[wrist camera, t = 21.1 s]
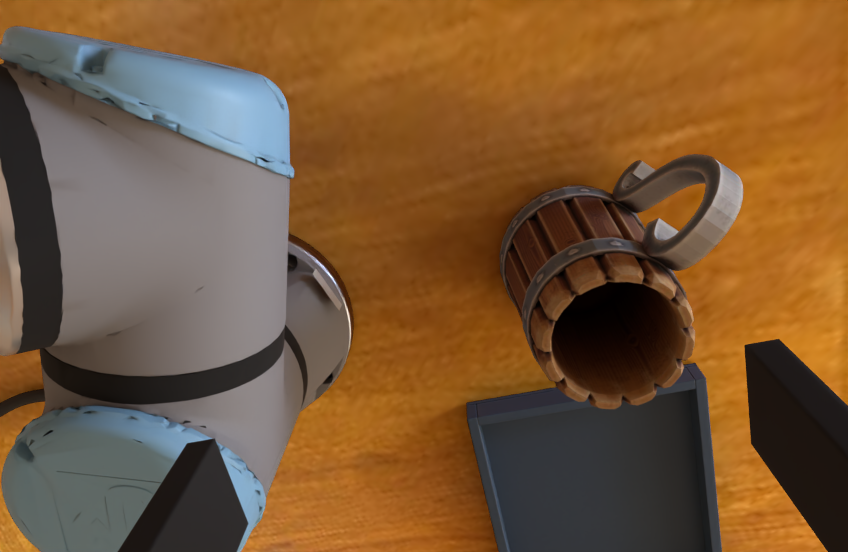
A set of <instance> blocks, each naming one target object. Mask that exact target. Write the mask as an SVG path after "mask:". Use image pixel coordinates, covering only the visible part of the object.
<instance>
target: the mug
mask: <svg viewBox="0 0 848 552" xmlns="http://www.w3.org/2000/svg"><path fill="white" fill-rule="evenodd" d="M699 183H706V189H705V194H704V198H703V201H702V203H701V205H700V207H699V209H698V210H697V212H696V213H695V215H694V216H693V217H692V218H691V220H690V221H689V222H688V223H687V224H686V225H685V226H684V227H683V228H682V229H681V231H677V230H676V229H674V228H673V227H671V226H670V225H668V224H667V223H665V222H664V221H662V220H661V219H659V218H658V219H656V220H654V221H652V222H650V223H648V224H647V227H646V229H645V228H644V226H643V224H642V223H641V221H640V219H639V218H638V216H637V215H636V213H638V212H642V211H644V210H647V209H648V208H650V207H652V206H654V205H655V204H657V203H659V202H660V201H662V200H663V199H665V198H667V197H668V196H670V195H672V194H674V193H675V192H677V191H679V190H681V189H683V188H686V187H688V186H691V185H694V184H699ZM742 199H743V185H742V182H741V179H740V178H739V176H738V175H737V174H735V173H734V172H733V171H731V170H730V169H728V168H727V167H725V166H724V165H723V164H721V163H720V162H718V161H717V160H715V159H714V158H713V157H711V156H707V155H697V154H694V155H686V156H683V157H680V158H678V159H675V160H673V161H671V162H669V163H667V164H666V165H664V166H662V167H661V168H659V169H657V170H654V169H653V168H651V167H650V166H648V165H647V164H645V163H644V162H642V161H641V160H639V161H636V162H634V163H633V164H631V165H630V166H629V167H628V168H627V169H626V170H625V171H624V173H623V174H622V175H621V177H620V178H619V180H618V182H617V183H616V185H615V187H614V190H613V194H610V193H608V192H606V191H604V190H602V189H596V188H594V187H590V186H583V185H571V186H566V187H564V188H560V189H556V188H554V189H551V190H549V191H546V192H544V193H541V194H540V195H538V196H536V197H535V198H533V199H531V202H530V203H529V204H527V205H526V206H525V207H522V208H521V209H520V210H519V211H518V212H517V214H516V215H515V216H514V217H513V219H512V220H511V222H510V224H509V225H508V227H507V231H506V233H505V235H504V237H503V240H502V246H501V251H500V273H501V276H502V278H503V281H504V284H505V287H506V290H507V292H508V295H509V297H510V299H511V300H512V302H513V303H514V305H515V306H516V307H517V310H518V312H519V315H520V317H521V319H522V322H523V329H524V332H525V335H526V338H527V341H528V344H529V346H530V349H531V351H532V353H533V356H534V358H535V359H536V361H537V362H538V364H539V365H540V366H541V368H542V370H543V372H544V373H545V374H546V376H547V377H548V378H549V380H551V381H555V383H556V386H557V388H558V389H559V390H560V391H561V392H563V393H564V394H565V395H566V396H567V397H569V398H571V399H573V400H575V401H577V402H584V401H586V400H587V398H588V400H589V402H590V404H591V405H592V406H595V407H598V408H601V409H616V408H618V407H619V406H621V404H622V402H623V400H624V401H625V402H627V403H628V404H630V405H640V404H643V403H646V402H648V401H650V400H652V399H653V397H654V396H655V395H656V391H657V387H661V388H667V387H671V386H672V385H673V384H674V383H675V382H676V381H677V380H678V379H679V377H680V376H681V374H682V372H683V369H684V365H683V363H682V361H681V360H687V359H688V358H689V357H690V356H691V355H692V351H693V348H694V343H695V330H694V329H693V327H692V325H691V324H692V322H693V321H694V317H693V313H692V309H691V306H690V305H689V303H688V301H687V296H686V292H685V291H684V289H683V287H682V286H681V284H680V283H679V281H678V279H677V278H676V276H675V274H674V273H673V271H672V270H675V271H679V270H683V269H686V268H688V267H690V266H692V265H694V264H696V263H697V262H698V261H700V260H701V259H702V258H704V257H705V256H706V255H707V254H708V253H709V252H710V251H711V250H712V249H713V248H714V247H715V246H716V245H717V244H718V243H719V242H720V241H721V239H722V238H723V237H724V236H725V235H726V233H727V232H728V230H729V229H730V227H731V226H732V224H733V223H734V221H735V219H736V217H737V215H738V212H739V210H740V207H741V203H742Z"/></svg>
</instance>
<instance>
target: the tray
mask: <svg viewBox="0 0 848 552" xmlns="http://www.w3.org/2000/svg"><path fill="white" fill-rule="evenodd" d="M467 421H468V425H469V429H470V434H471V438H472V442H473V446H474V450H475V455H476V459H477V463H478V467H479V471H480V476H481V480H482V484H483V488H484V492H485V496H486V501H487V505H488V509H489V513H490V517H491V522H492V526H493V530H494V534H495V538H496V543H497V547H498V551H499V552H722V547H721V536H720V526H719V515H718V504H717V493H716V482H715V471H714V461H713V450H712V439H711V428H710V417H709V406H708V396H707V385H706V378H705V376H704V375H703V374H702V372H701V371H700V369H699V368H698V367H697V365H696V364H695V363H693V364H687V365H684V369H683V372H682V374H681V376H680V377H679V379H678V380H677V381H676V382H675V383H674V384H673V385H672V386H671V387H667V388H661V387H657V391H656V395H655V396H654V397H653V399H652V400H650V401H648V402H646V403H643V404H640V405H630V404H628V403H627V402H625V401H624V400H623V402H622V404H621V406H619V407H618V408H616V409H601V408H598V407H595V406H592V405H591V404H590V402H589V400H588V398H587V400H586V401H584V402H577V401H575V400H573V399H571V398H569V397H567V396H566V395H565V394H564V393H563V392H561V391H560V390H559V389H558V388H557V387H555V388H549V389H544V390H538V391H532V392H526V393H521V394H515V395H509V396H504V397H498V398H492V399H486V400H481V401H475V402H469V403H467Z"/></svg>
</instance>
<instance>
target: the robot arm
mask: <svg viewBox="0 0 848 552" xmlns="http://www.w3.org/2000/svg"><path fill="white" fill-rule="evenodd" d="M0 58H1V59H3V60H4V63H3V64H0V355H2V356H8V355H13V354H18V353H23V352H27V351H32V350H37V349H40V356H41V365H42V374H43V383H44V389H40V390H33V391H29V392H25V393H22V394H19V395H16V396H14V397H11V398H9V399H7V400H5V401H3V402H1V403H0V417H1V416H3V415H4V414H6V413H8V412H9V411H11V410H13V409H15V408H18V407H20V406H23V405H26V404H30V403H35V402H42V401H45V408H44V411H43V414H42V416H40V417H39V418H37V419H33V420H32V422H30V423H29V424H27V425H26V426H25V427H24V428H23V430H22V431H21V433H20V434H19V435H18V436H17V438H16V440H15V445H14V446H13V447H12V449H11V450H10V452H9V454H8V456H7V458H6V461H5V463H4V467H3V472H2V491H3V497H4V500H5V504H6V506H7V509H8V511H9V513H10V515H11V517H12V519H13V521H14V522H15V524H16V525H17V527H18V528H19V530H20V531H21V532H22V533H23V534H24V536H25V537H26V538H27V539H28V540H29V541H30V542H31V543H32V544H33V545H34V546H35V547H36V548H38V549H39V550H40V551H41V552H241V550H242V549H243V547H244V545H245V543H246V541H247V539H248V537H249V535H250V533H251V532H252V530H253V528H254V527H256V525H257V523H258V522H259V521H260V520H261V518H262V515H263V511H264V510H265V506H266V497H267V494H268V492H269V489H270V487H271V484H272V481H273V479H274V476H275V474H276V471H277V469H278V466H279V464H280V461H281V459H282V456H283V453H284V451H285V448H286V446H287V443H288V441H289V438H290V436H291V433H292V430H293V428H294V425H295V423H296V420H297V418H298V415H299V413H300V411H302V410H303V409H304V408H306V407H307V406H308V405H310V404H311V403H312V402H314V401H315V400H316V399H317V398H319V397H320V396H321V395H322V394H323V393H324V392H325V391H327V390H328V388H329V387H330V386H331V385H332V384H333V383H334V382H335V380H336V379H337V378H338V376H339V374H340V372H341V371H342V369H343V367H344V364H345V362H346V359H347V356H348V353H349V350H350V347H351V343H352V338H353V330H354V318H353V310H352V305H351V301H350V298H349V295H348V292H347V290H346V288H345V286H344V283H343V282H342V280H341V278H340V276H339V275H338V273H337V272H336V271H335V269H334V268H333V266H332V265H331V264H330V263H329V262H328V261H327V260H326V259H325V258H324V257H323V256H322V255H321V254H320V253H319V252H318V251H317V250H315V249H314V248H313V247H312V246H310V245H309V244H307V243H306V242H304V241H302V240H301V239H299V238H297V237H295V236H293V235H291V234H288V224H289V188H290V179H292V178H294V168H293V167H292V166H291V165H290V137H289V110H288V105H287V102H286V99H285V97H284V95H283V93H282V92H281V90H280V89H279V88H278V87H277V86H276V85H275V84H274V83H273V82H272V81H271V80H269V79H268V78H266V77H264V76H263V75H260V74H257V73H254V72H251V71H247V70H244V69H240V68H236V67H231V66H227V65H223V64H218V63H213V62H209V61H204V60H200V59H195V58H190V57H185V56H180V55H176V54H171V53H165V52H160V51H155V50H150V49H145V48H140V47H135V46H130V45H125V44H120V43H115V42H109V41H104V40H99V39H93V38H88V37H82V36H77V35H71V34H65V33H58V32H50V31H43V30H38V29H32V28H28V27H18V26H17V27H11V28H8V29H7V30H6V31H5V33H4V36H3V42H2V44H1V45H0ZM745 359H746V374H747V388H748V403H749V418H750V432H751V444H752V445H753V447H754V448H755V450H756V451H757V452H758V454H759V455H760V457H761V458H762V459H763V461H764V462H765V464H766V465H767V466H768V468H769V469H770V471H771V472H772V474H773V475H774V476H775V478H776V479H777V481H778V482H779V483H780V485H781V486H782V488H783V489H784V490H785V492H786V493H787V495H788V496H789V497H790V499H791V500H792V502H793V503H794V505H795V506H796V507H797V509H798V510H799V512H800V513H801V514H802V516H803V517H804V519H805V520H806V521H807V523H808V524H809V526H810V527H811V528H812V530H813V531H814V533H815V534H816V536H817V537H818V538H819V540H820V541H821V543H822V544H823V545H824V547H825V548H826V550H827V551H828V552H848V406H847V405H846V404H845V403H844V402H843V401H842V400H841V399H840V398H839V397H838V396H837V395H836V394H835V393H834V392H833V391H832V390H831V389H830V388H829V387H828V386H827V385H826V384H825V383H824V382H823V381H822V380H821V379H820V378H819V377H817V376H816V375H815V374H814V373H813V372H812V371H811V370H810V369H809V368H808V367H807V366H806V365H805V364H804V363H803V362H802V361H801V360H800V359H799V358H798V357H797V356H796V355H795V354H794V353H793V352H792V351H791V350H790V349H789V348H788V347H786V346H785V345H784V344H783V343H782V342H781V341H780V340H779V339H776V340H770V341H765V342H759V343H753V344H748V345H745Z"/></svg>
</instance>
